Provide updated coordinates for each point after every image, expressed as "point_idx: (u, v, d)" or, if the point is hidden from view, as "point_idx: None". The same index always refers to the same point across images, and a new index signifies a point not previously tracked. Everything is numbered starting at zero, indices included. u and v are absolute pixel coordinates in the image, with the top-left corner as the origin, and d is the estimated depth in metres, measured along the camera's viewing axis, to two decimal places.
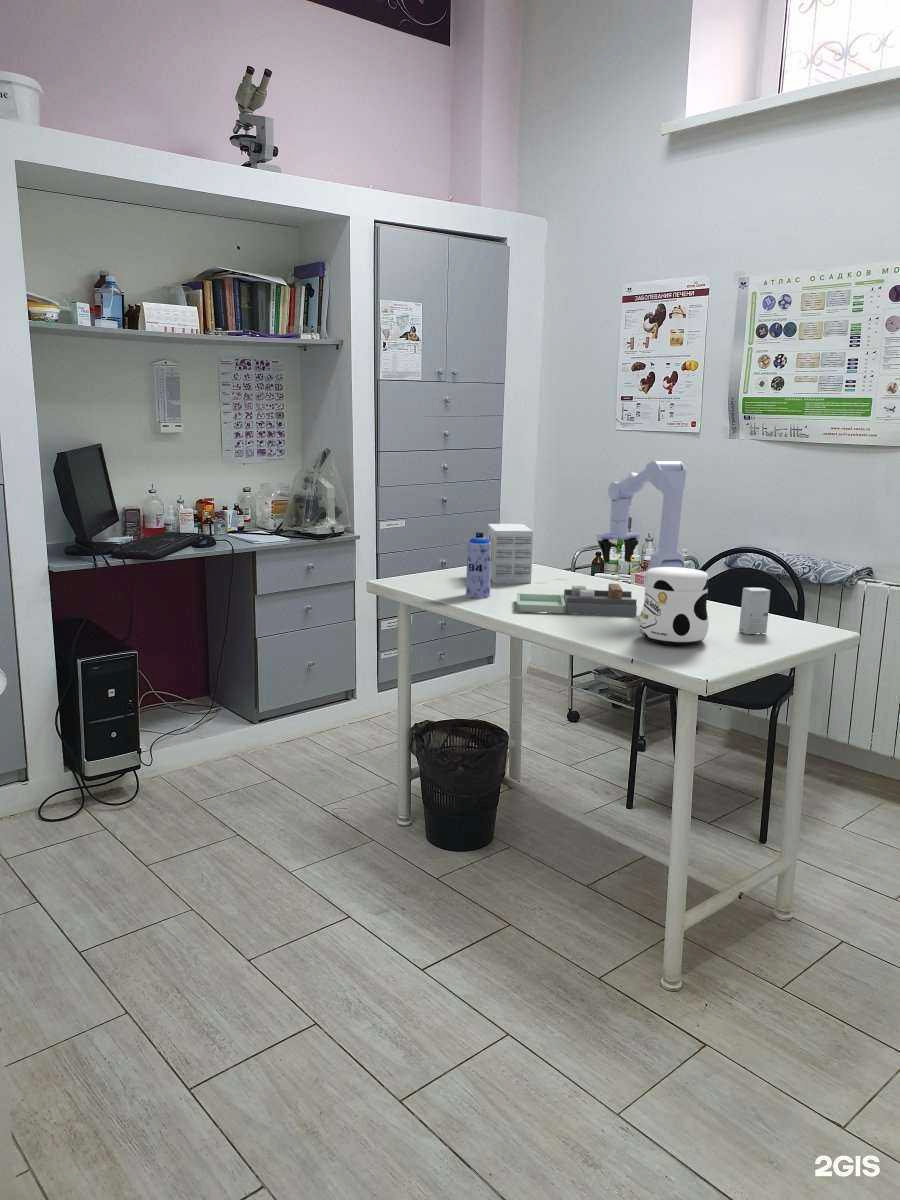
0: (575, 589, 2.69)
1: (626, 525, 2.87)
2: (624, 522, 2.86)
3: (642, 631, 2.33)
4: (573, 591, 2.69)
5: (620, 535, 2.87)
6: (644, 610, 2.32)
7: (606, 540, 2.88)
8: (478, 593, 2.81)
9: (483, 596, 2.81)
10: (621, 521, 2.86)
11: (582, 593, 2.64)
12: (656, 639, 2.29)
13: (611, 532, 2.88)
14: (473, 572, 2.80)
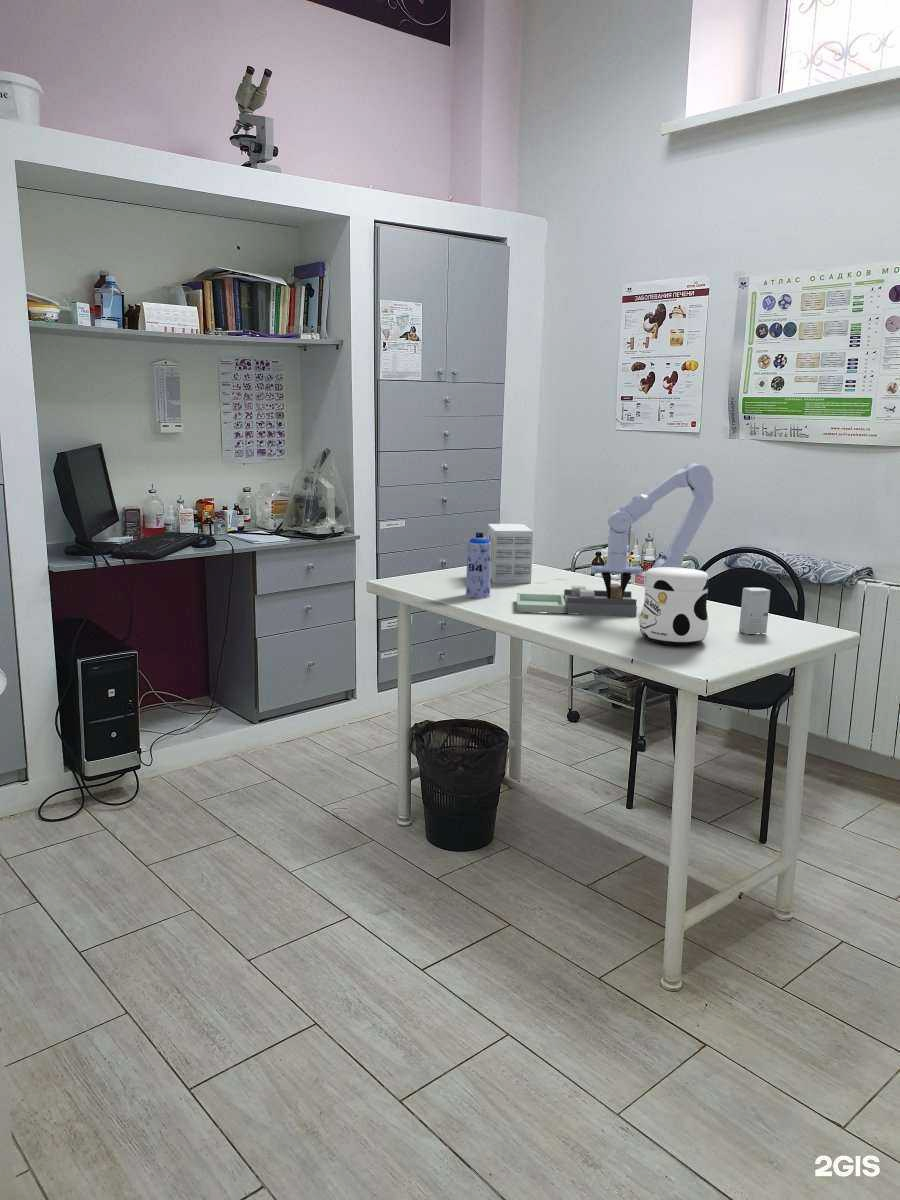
0: (575, 589, 2.69)
1: (622, 559, 2.63)
2: (619, 555, 2.63)
3: (642, 631, 2.33)
4: (573, 591, 2.69)
5: (614, 569, 2.64)
6: (644, 610, 2.32)
7: None
8: (478, 593, 2.81)
9: (483, 596, 2.81)
10: (615, 554, 2.63)
11: (582, 593, 2.64)
12: (656, 639, 2.29)
13: (607, 565, 2.66)
14: (473, 572, 2.80)
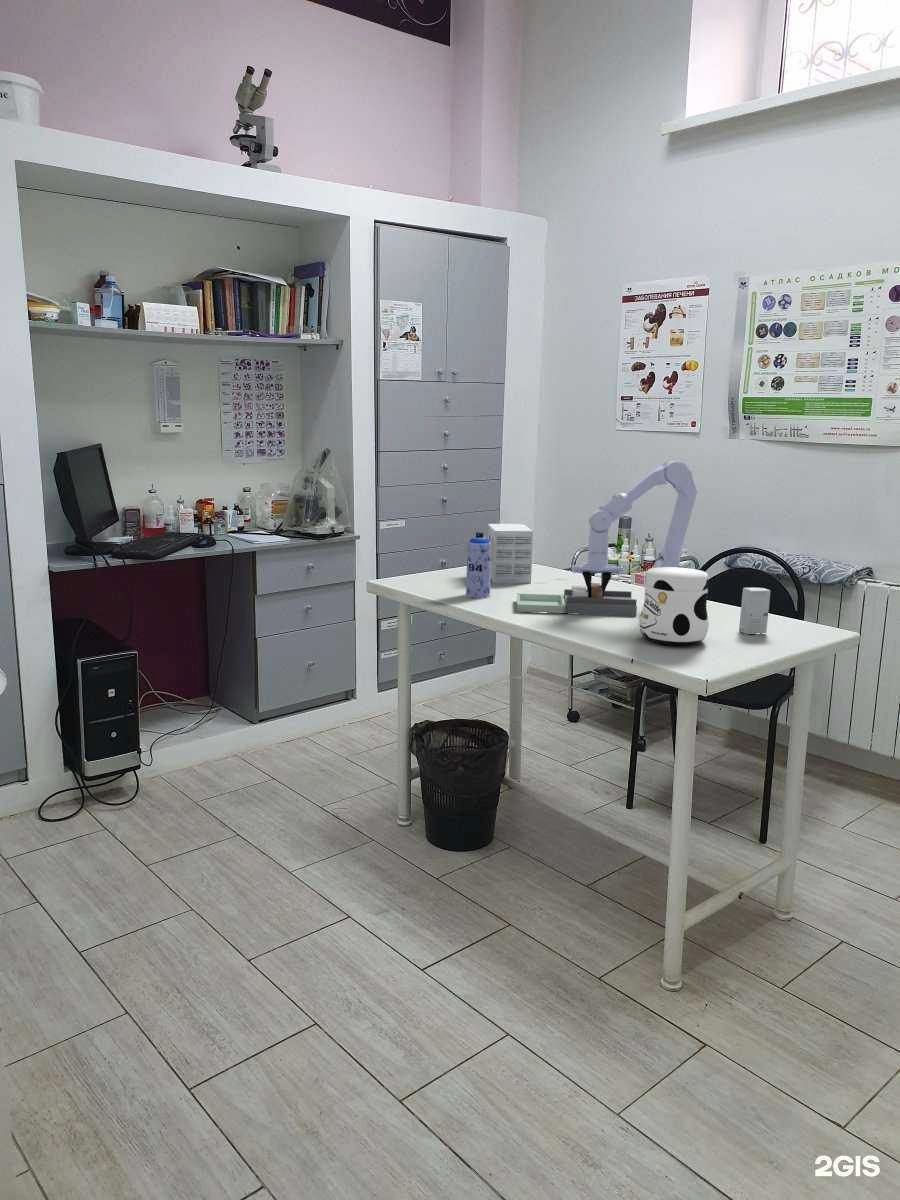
0: None
1: (602, 558, 2.64)
2: (599, 554, 2.63)
3: (642, 631, 2.33)
4: None
5: (594, 568, 2.64)
6: (644, 610, 2.32)
7: None
8: (478, 593, 2.81)
9: (483, 596, 2.81)
10: (596, 553, 2.63)
11: (576, 593, 2.64)
12: (656, 639, 2.29)
13: (587, 564, 2.66)
14: (473, 572, 2.80)
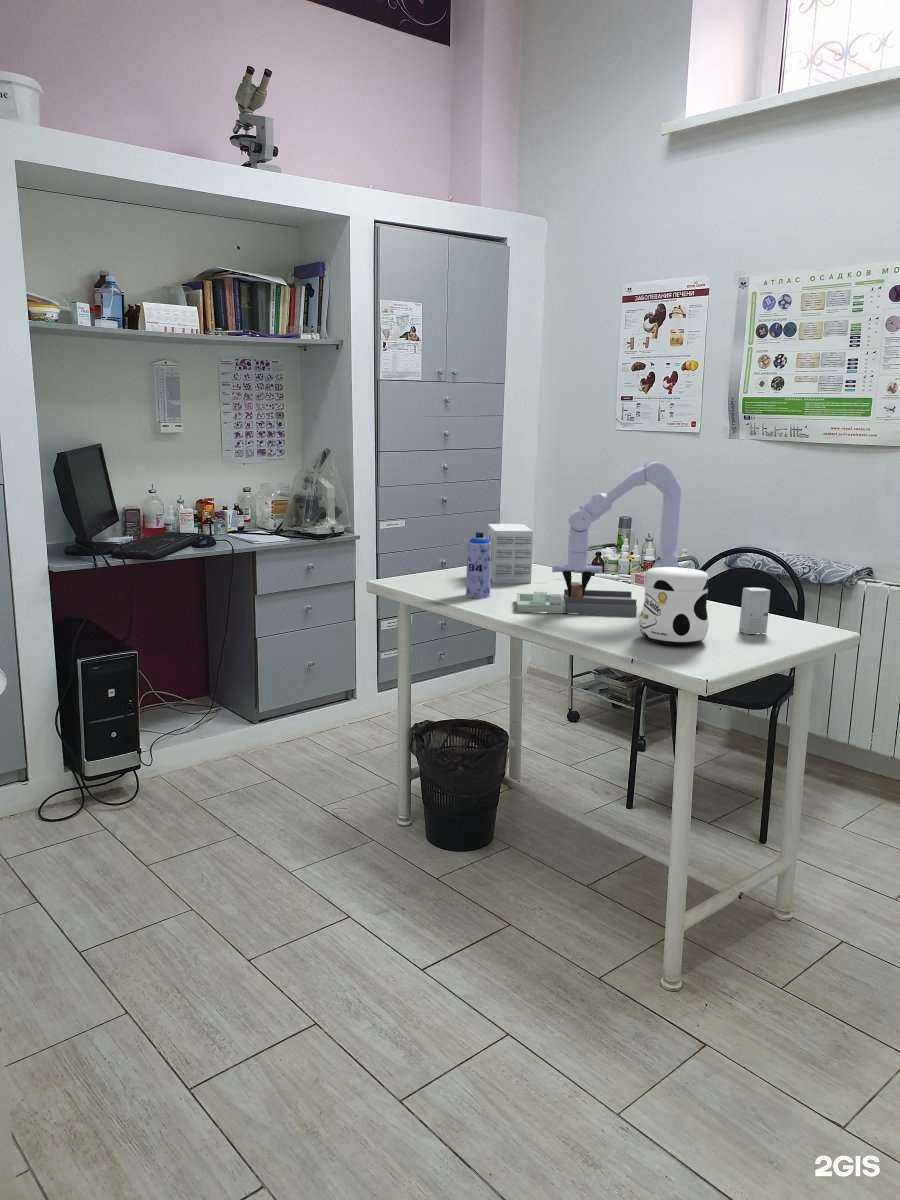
0: (542, 603, 2.72)
1: (582, 557, 2.64)
2: (579, 554, 2.63)
3: (642, 631, 2.33)
4: (544, 601, 2.72)
5: (574, 568, 2.64)
6: (644, 610, 2.32)
7: None
8: (478, 593, 2.81)
9: (483, 596, 2.81)
10: (575, 553, 2.64)
11: None
12: (656, 639, 2.29)
13: None
14: (473, 572, 2.80)
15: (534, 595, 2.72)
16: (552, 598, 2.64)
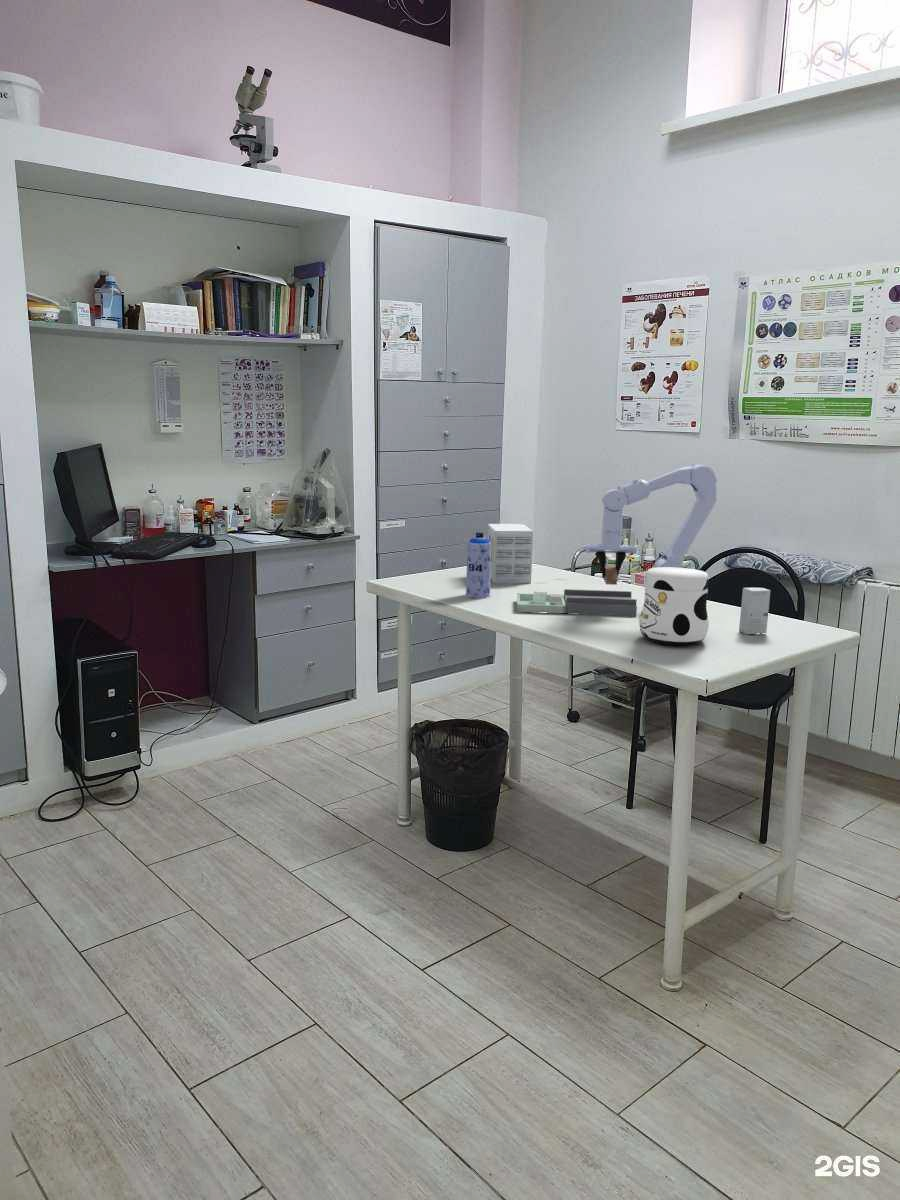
0: (542, 603, 2.72)
1: (617, 537, 2.62)
2: (613, 534, 2.62)
3: (642, 631, 2.33)
4: (544, 601, 2.72)
5: (609, 548, 2.63)
6: (644, 610, 2.32)
7: None
8: (478, 593, 2.81)
9: (483, 596, 2.81)
10: (610, 533, 2.62)
11: None
12: (656, 639, 2.29)
13: None
14: (473, 572, 2.80)
15: (534, 595, 2.72)
16: (552, 598, 2.64)
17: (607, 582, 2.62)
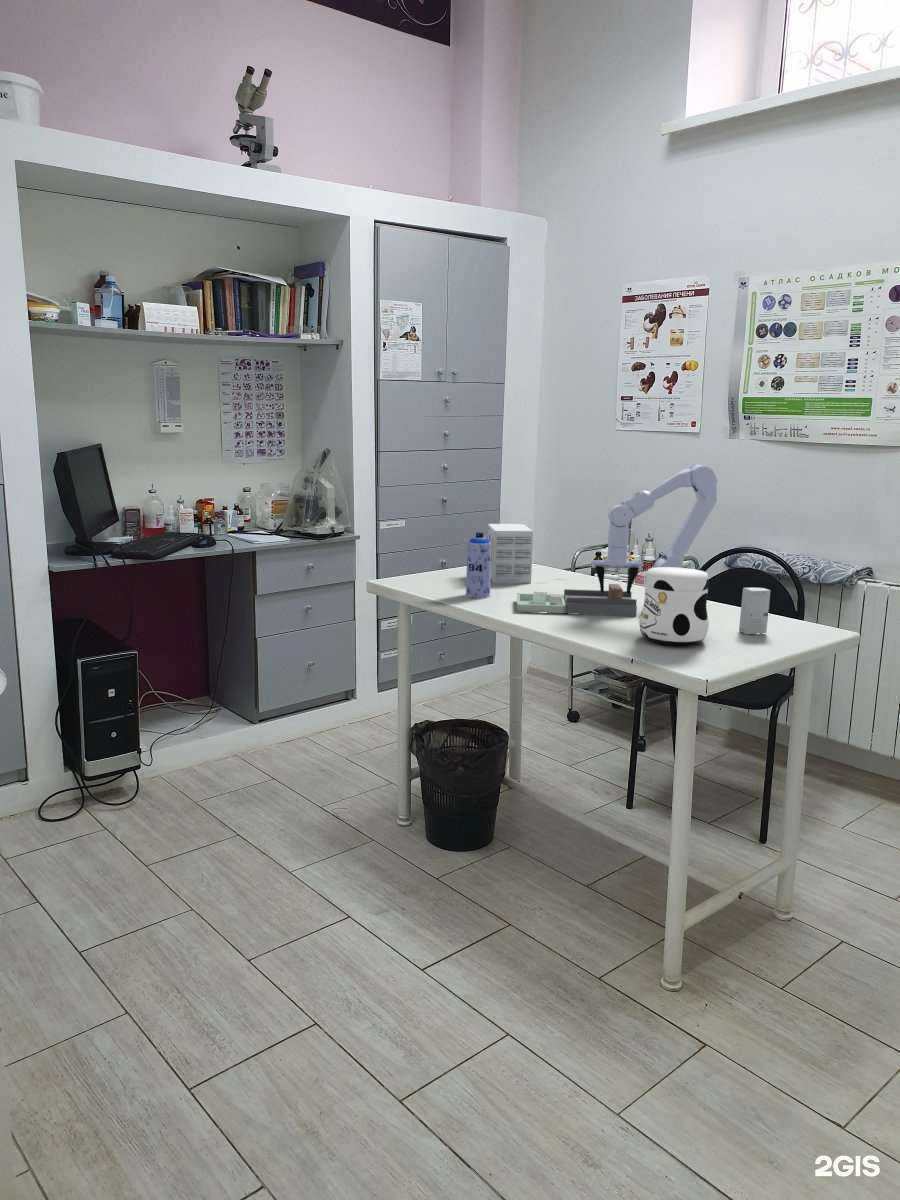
0: (542, 603, 2.72)
1: (622, 553, 2.63)
2: (619, 549, 2.62)
3: (642, 631, 2.33)
4: (544, 601, 2.72)
5: (614, 563, 2.63)
6: (644, 610, 2.32)
7: (600, 568, 2.66)
8: (478, 593, 2.81)
9: (483, 596, 2.81)
10: (616, 548, 2.63)
11: None
12: (656, 639, 2.29)
13: (607, 559, 2.66)
14: (473, 572, 2.80)
15: (534, 595, 2.72)
16: (552, 598, 2.64)
17: None
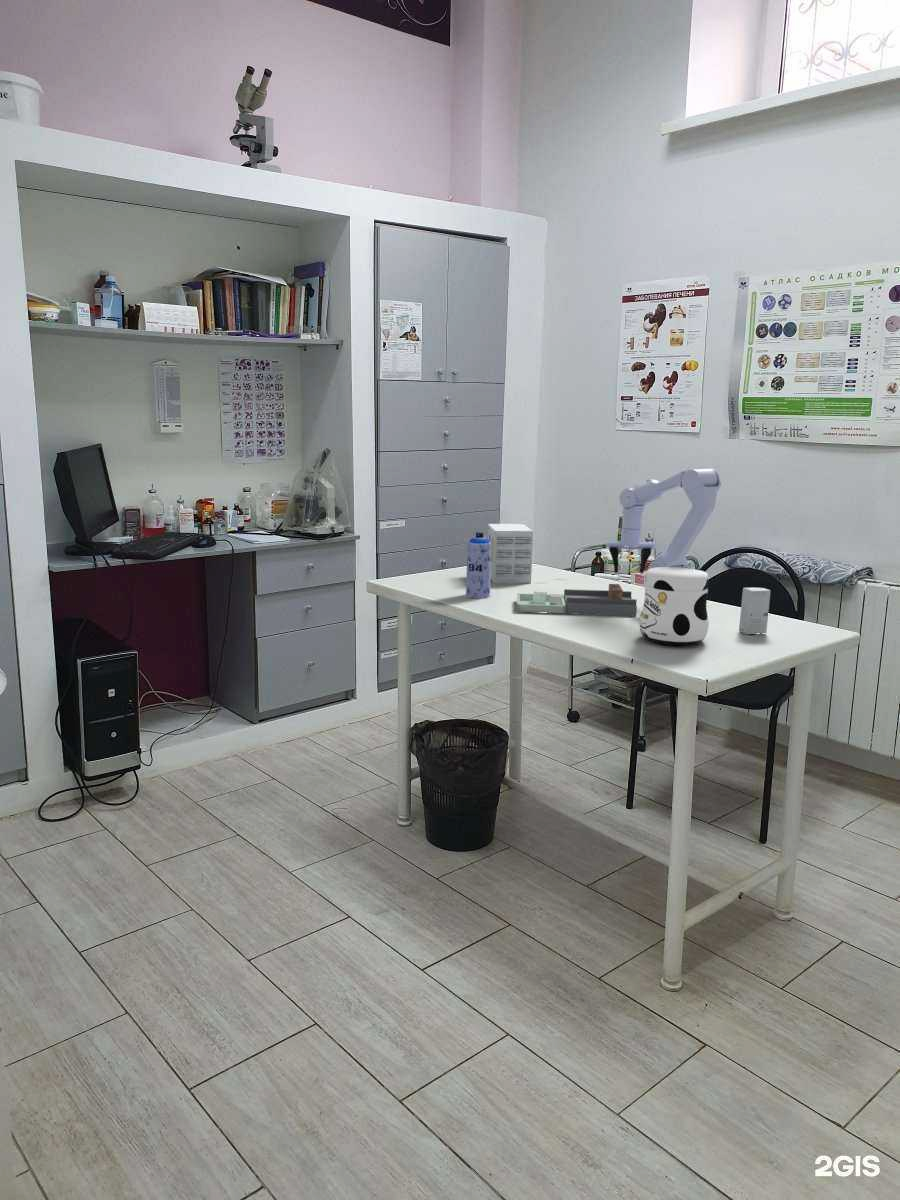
0: (542, 603, 2.72)
1: (636, 534, 2.73)
2: (633, 531, 2.72)
3: (642, 631, 2.33)
4: (544, 601, 2.72)
5: (628, 544, 2.73)
6: (644, 610, 2.32)
7: (614, 548, 2.75)
8: (478, 593, 2.81)
9: (483, 596, 2.81)
10: (629, 529, 2.72)
11: None
12: (656, 639, 2.29)
13: (621, 540, 2.75)
14: (473, 572, 2.80)
15: (534, 595, 2.72)
16: (552, 598, 2.64)
17: None
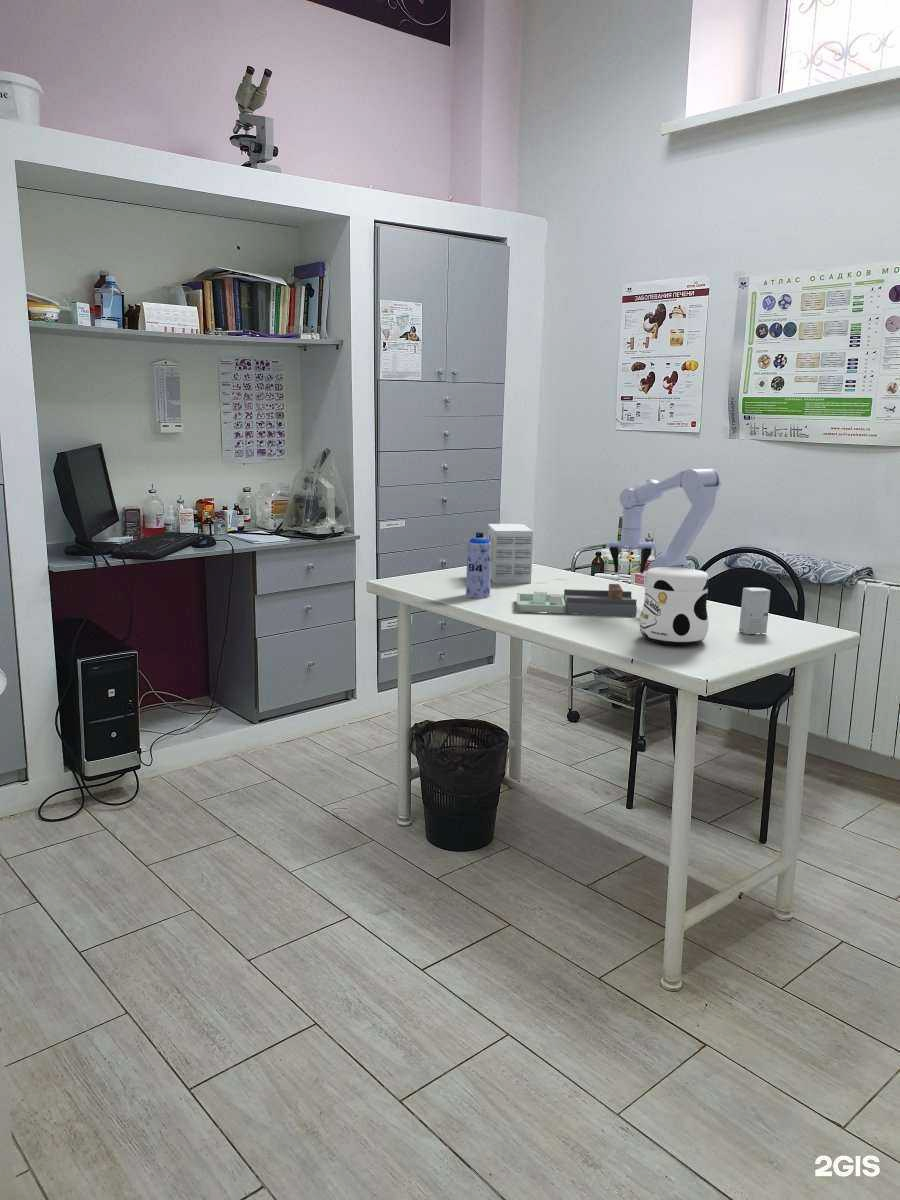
0: (542, 603, 2.72)
1: (636, 534, 2.73)
2: (633, 531, 2.72)
3: (642, 631, 2.33)
4: (544, 601, 2.72)
5: (628, 544, 2.73)
6: (644, 610, 2.32)
7: (614, 548, 2.76)
8: (478, 593, 2.81)
9: (483, 596, 2.81)
10: (629, 529, 2.72)
11: None
12: (656, 639, 2.29)
13: (621, 540, 2.75)
14: (473, 572, 2.80)
15: (534, 595, 2.72)
16: (552, 598, 2.64)
17: None
